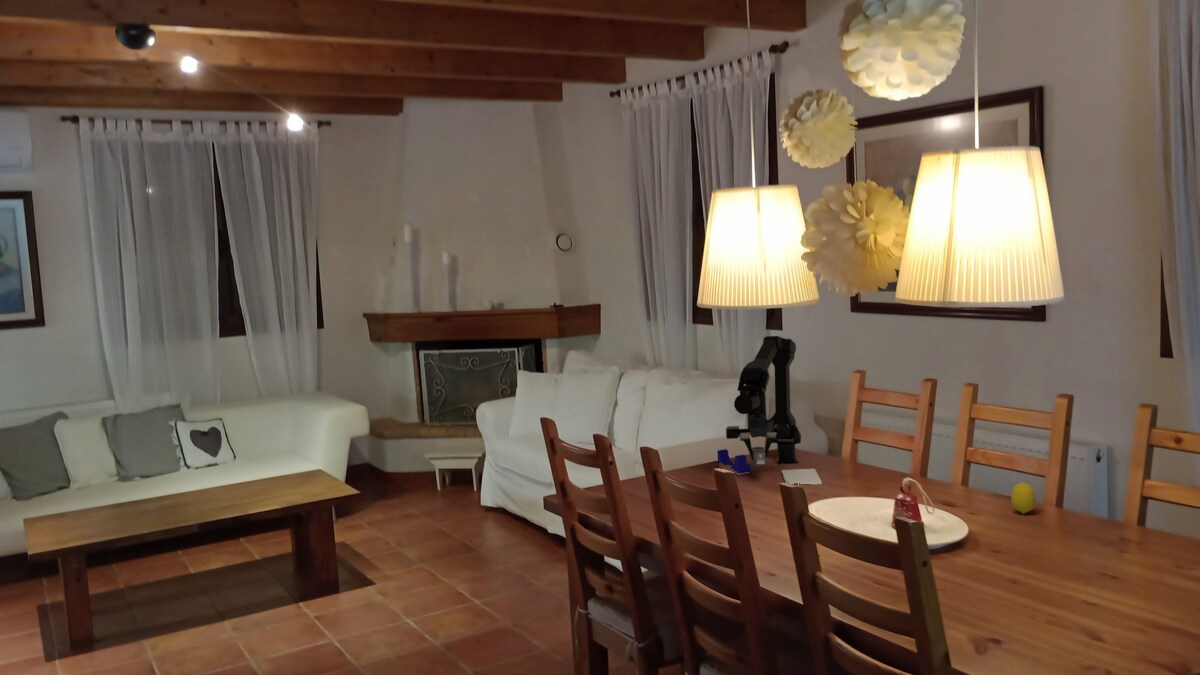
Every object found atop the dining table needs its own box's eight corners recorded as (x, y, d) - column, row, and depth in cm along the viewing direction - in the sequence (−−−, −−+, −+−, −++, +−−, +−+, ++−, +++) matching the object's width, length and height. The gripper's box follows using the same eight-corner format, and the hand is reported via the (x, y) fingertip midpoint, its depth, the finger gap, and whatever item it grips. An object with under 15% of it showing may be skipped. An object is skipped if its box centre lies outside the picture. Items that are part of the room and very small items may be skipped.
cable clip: (751, 473, 292) (750, 454, 292) (738, 475, 291) (737, 456, 290) (730, 466, 303) (729, 448, 303) (718, 468, 302) (717, 450, 301)
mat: (781, 472, 290) (781, 470, 290) (814, 471, 289) (814, 468, 289) (786, 485, 275) (786, 482, 275) (821, 484, 274) (821, 481, 274)
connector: (755, 469, 276) (754, 455, 276) (752, 459, 289) (751, 447, 288) (767, 468, 276) (766, 455, 276) (764, 459, 288) (763, 446, 288)
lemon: (1022, 518, 229) (1021, 485, 228) (1006, 512, 234) (1005, 481, 234) (1041, 515, 230) (1040, 482, 230) (1025, 509, 236) (1024, 478, 235)
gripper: (725, 414, 275) (728, 467, 277) (790, 411, 273) (793, 464, 275) (724, 408, 286) (727, 458, 288) (787, 405, 284) (789, 456, 286)
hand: (759, 459), depth 284 cm, fingers closed on connector, 3 cm apart
